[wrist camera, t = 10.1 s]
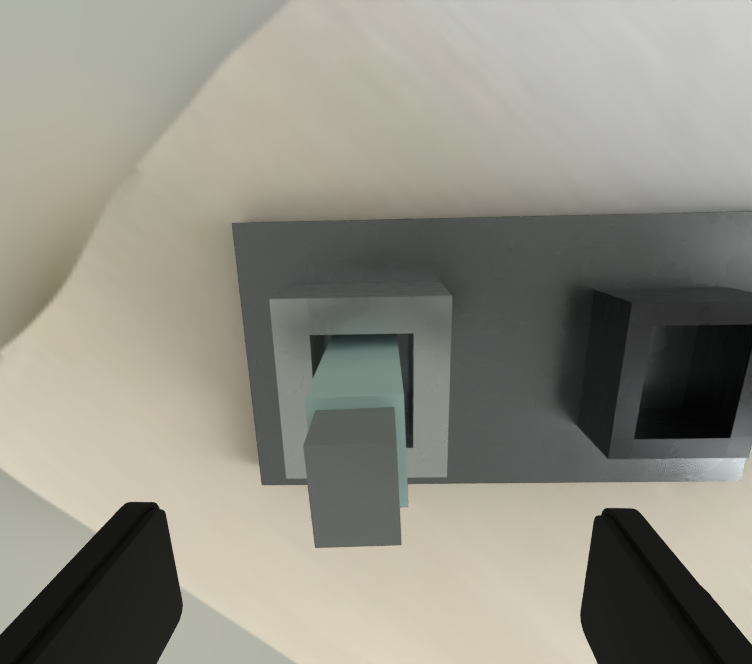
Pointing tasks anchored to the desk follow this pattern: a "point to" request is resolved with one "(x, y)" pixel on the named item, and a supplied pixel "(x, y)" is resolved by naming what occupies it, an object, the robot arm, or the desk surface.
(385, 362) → the plug
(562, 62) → the desk surface
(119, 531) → the robot arm
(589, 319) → the panel
